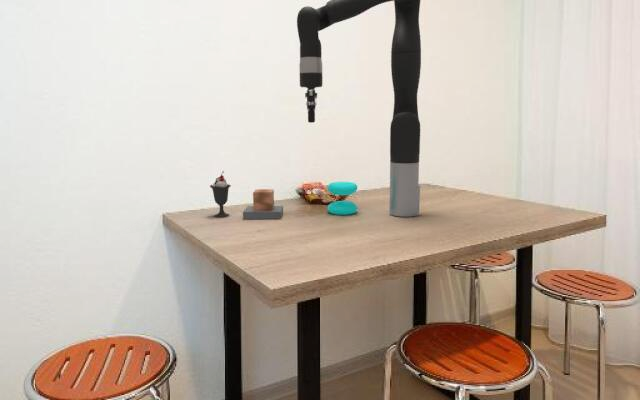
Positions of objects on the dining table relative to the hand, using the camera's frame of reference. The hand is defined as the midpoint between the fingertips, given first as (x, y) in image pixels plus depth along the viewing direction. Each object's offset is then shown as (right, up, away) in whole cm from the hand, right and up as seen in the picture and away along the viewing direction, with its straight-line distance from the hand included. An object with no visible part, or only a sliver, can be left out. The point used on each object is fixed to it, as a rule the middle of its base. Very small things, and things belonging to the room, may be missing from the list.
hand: (311, 122), depth 162 cm
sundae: (-30, -31, -2) cm, 43 cm away
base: (-16, -32, -3) cm, 36 cm away
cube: (-15, -29, -4) cm, 33 cm away
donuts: (+10, -31, +1) cm, 32 cm away
